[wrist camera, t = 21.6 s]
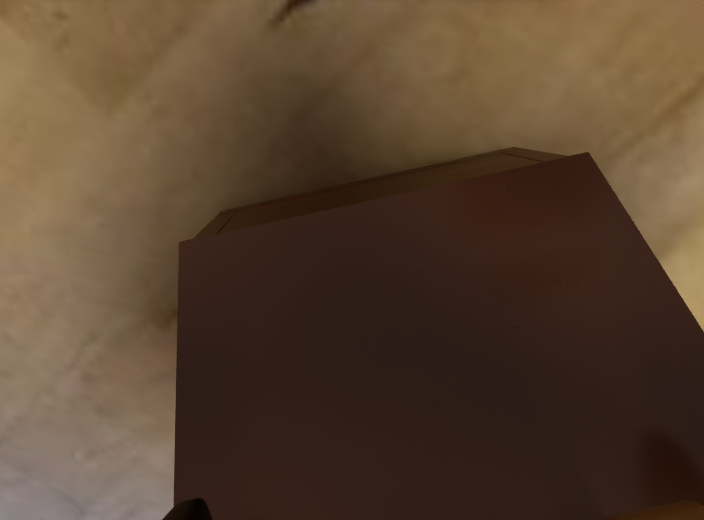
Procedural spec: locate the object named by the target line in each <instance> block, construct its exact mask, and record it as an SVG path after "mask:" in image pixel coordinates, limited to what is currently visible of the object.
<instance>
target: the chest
mask: <svg viewBox="0 0 704 520" xmlns="http://www.w3.org/2000/svg"><path fill="white" fill-rule="evenodd" d="M563 157H567V156H564V155H558V154H552V153H546V152H540V151H534V150H528V149H521V148H515V147H512V148H508V149H503V150H499V151H494V152H490V153H485V154H480V155H476V156H471V157H467V158H462V159H458V160H453V161H449V162H444V163H440V164H435V165H431V166H426V167H422V168H417V169H412V170H408V171H403V172H399V173H394V174H390V175H385V176H381V177H376V178H372V179H367V180H363V181H358V182H354V183H349V184H344V185H340V186H335V187H331V188H326V189H322V190H317V191H313V192H308V193H304V194H299V195H295V196H290V197H286V198H281V199H276V200H272V201H267V202H263V203H258V204H254V205H249V206H245V207H240V208H236V209H231V210H227V211H222V212H220V213H219V214H218V215H217V216H216V217H215V218H214V219H213V220H212V221H211V222H210V223H209V224H208V225H207V226H206V227H205V228H203V229H202V230H201V231H200V232H199V233H198V234H197V235H196V236H195V237H194V238H193V239H195V238H200V237H204V236H209V235H213V234H218V233H222V232H227V231H231V230H236V229H241V228H245V227H250V226H254V225H259V224H263V223H268V222H272V221H277V220H281V219H286V218H290V217H295V216H299V215H304V214H309V213H313V212H318V211H322V210H327V209H331V208H336V207H340V206H345V205H349V204H354V203H358V202H363V201H368V200H372V199H377V198H381V197H386V196H390V195H395V194H399V193H404V192H408V191H413V190H417V189H422V188H426V187H431V186H436V185H440V184H445V183H449V182H454V181H458V180H463V179H467V178H472V177H476V176H481V175H485V174H490V173H495V172H499V171H504V170H508V169H513V168H517V167H522V166H526V165H531V164H535V163H540V162H544V161H549V160H553V159H558V158H563Z"/></svg>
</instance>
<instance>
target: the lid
mask: <svg viewBox="0 0 704 520" xmlns="http://www.w3.org/2000/svg"><path fill="white" fill-rule="evenodd" d="M195 498H202V499H204V500H205V502H206V504H207V506H208V508H209V511H210V514H211V516H212V519H213V520H704V332H703V330H702V328H701V327H700V325H699V324H698V322H697V321H696V319H695V318H694V316H693V314H692V313H691V311H690V310H689V308H688V307H687V305H686V303H685V302H684V300H683V299H682V297H681V296H680V294H679V293H678V291H677V289H676V288H675V286H674V285H673V283H672V282H671V280H670V279H669V277H668V275H667V274H666V272H665V271H664V269H663V268H662V266H661V264H660V263H659V261H658V260H657V258H656V257H655V255H654V254H653V252H652V250H651V249H650V247H649V246H648V244H647V243H646V241H645V239H644V238H643V236H642V235H641V233H640V232H639V230H638V229H637V227H636V225H635V224H634V222H633V221H632V219H631V218H630V216H629V214H628V213H627V211H626V210H625V208H624V207H623V205H622V204H621V202H620V200H619V199H618V197H617V196H616V194H615V193H614V191H613V190H612V188H611V186H610V185H609V183H608V182H607V180H606V179H605V177H604V175H603V174H602V172H601V171H600V169H599V168H598V166H597V165H596V163H595V161H594V160H593V158H592V157H591V155H590V154H589V153H588V152H585V153H581V154H576V155H572V156H567V157H563V158H558V159H553V160H549V161H544V162H540V163H535V164H531V165H526V166H522V167H517V168H513V169H508V170H504V171H499V172H495V173H490V174H485V175H481V176H476V177H472V178H467V179H463V180H458V181H454V182H449V183H445V184H440V185H436V186H431V187H426V188H422V189H417V190H413V191H408V192H404V193H399V194H395V195H390V196H386V197H381V198H377V199H372V200H368V201H363V202H358V203H354V204H349V205H345V206H340V207H336V208H331V209H327V210H322V211H318V212H313V213H309V214H304V215H299V216H295V217H290V218H286V219H281V220H277V221H272V222H268V223H263V224H259V225H254V226H250V227H245V228H241V229H236V230H231V231H227V232H222V233H218V234H213V235H209V236H204V237H200V238H195V239H191V240H186V241H182V242H180V243H179V272H178V320H177V369H176V417H175V465H174V506H175V505H176V504H178V503H179V502H182V501H186V500H191V499H195Z"/></svg>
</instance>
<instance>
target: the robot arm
mask: <svg viewBox="0 0 704 520" xmlns="http://www.w3.org/2000/svg"><path fill="white" fill-rule="evenodd" d="M162 520H213V519H212V516H211V514H210V511H209V508H208V506H207V504H206V502H205V500H204V499H202V498H195V499H191V500H186V501H182V502H179V503H178V504H176V505H175V506H174V507H173V508H172V509H171V511H170V512H169V513H168V514H167V515H166V516H165V517H164V518H163V519H162Z"/></svg>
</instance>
